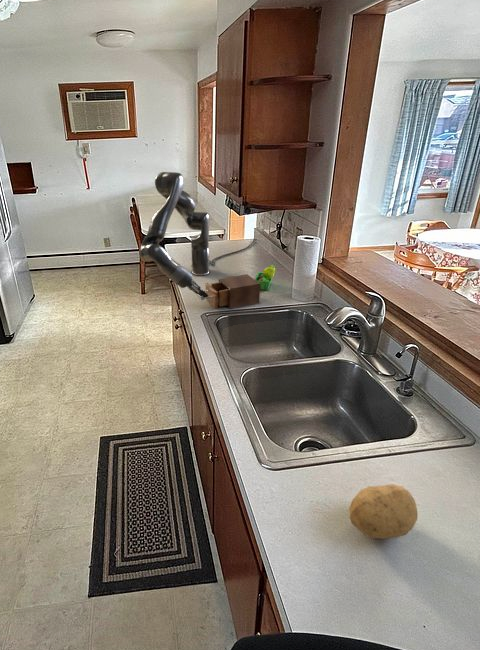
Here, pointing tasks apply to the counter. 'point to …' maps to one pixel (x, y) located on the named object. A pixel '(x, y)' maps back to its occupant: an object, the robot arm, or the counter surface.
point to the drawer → (216, 294)
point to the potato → (383, 511)
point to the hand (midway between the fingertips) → (206, 296)
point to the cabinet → (242, 290)
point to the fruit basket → (265, 277)
